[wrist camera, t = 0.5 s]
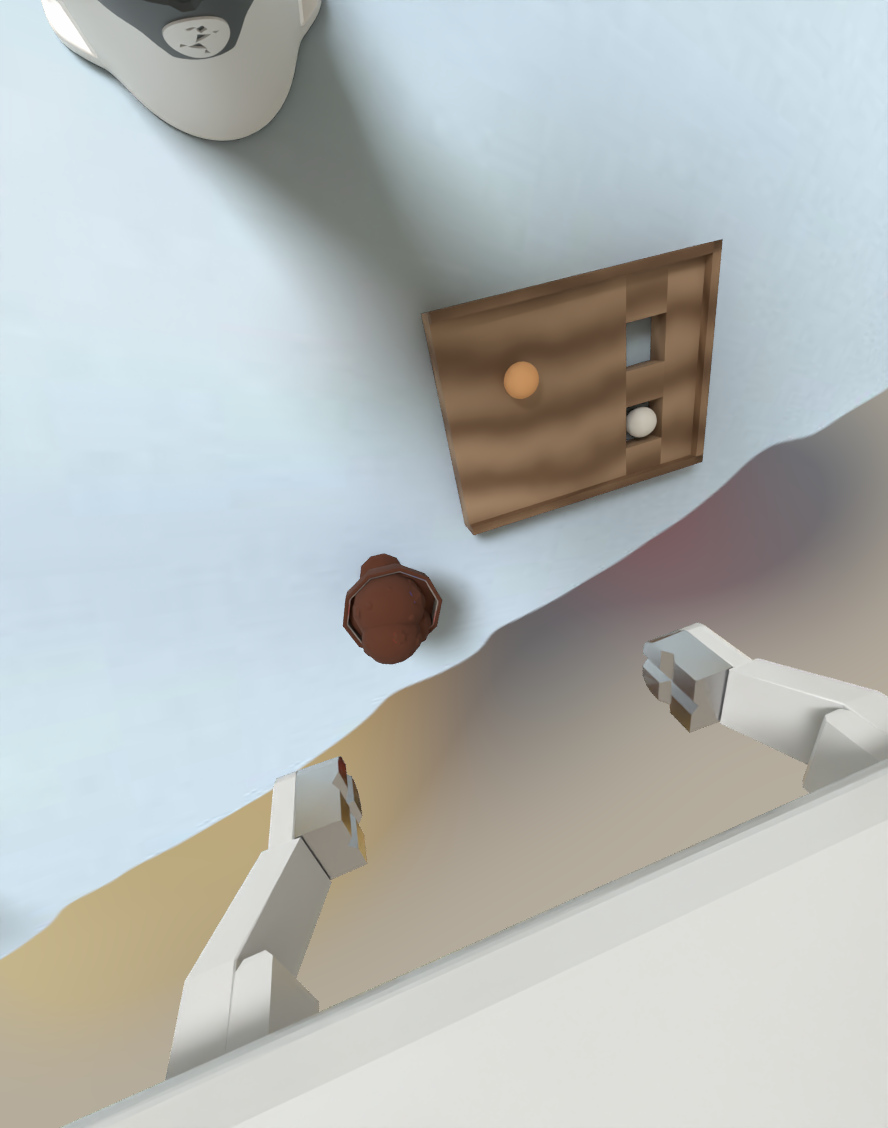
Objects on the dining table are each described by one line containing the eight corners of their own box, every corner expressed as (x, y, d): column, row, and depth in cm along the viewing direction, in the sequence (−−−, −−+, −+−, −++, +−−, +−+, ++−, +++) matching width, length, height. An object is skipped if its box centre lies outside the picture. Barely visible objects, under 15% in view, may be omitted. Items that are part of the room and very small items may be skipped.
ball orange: (496, 365, 46) (509, 367, 43) (527, 356, 46) (543, 358, 43) (501, 400, 48) (514, 405, 45) (531, 392, 48) (546, 395, 45)
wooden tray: (421, 313, 44) (429, 312, 41) (696, 245, 48) (722, 239, 45) (464, 524, 56) (473, 535, 53) (682, 455, 60) (702, 461, 57)
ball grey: (618, 409, 55) (637, 413, 52) (644, 401, 55) (664, 405, 52) (618, 437, 56) (636, 443, 53) (643, 430, 57) (662, 435, 54)
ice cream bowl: (429, 596, 60) (461, 668, 47) (347, 617, 58) (358, 697, 45) (417, 526, 55) (450, 584, 42) (327, 546, 53) (332, 614, 40)
